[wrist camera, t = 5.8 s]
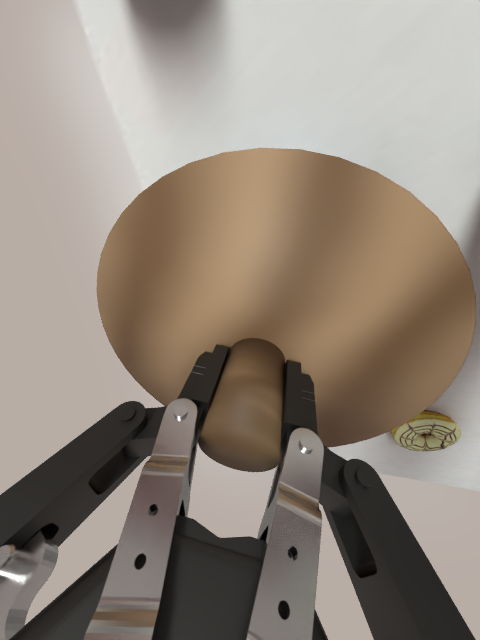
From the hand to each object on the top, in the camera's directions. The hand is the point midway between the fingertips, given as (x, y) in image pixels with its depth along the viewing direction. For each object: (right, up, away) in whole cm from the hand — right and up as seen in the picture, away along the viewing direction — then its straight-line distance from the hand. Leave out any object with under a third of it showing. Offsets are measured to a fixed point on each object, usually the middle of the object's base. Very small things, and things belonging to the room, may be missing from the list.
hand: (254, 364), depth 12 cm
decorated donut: (+36, -18, +33) cm, 52 cm away
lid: (0, +1, +1) cm, 1 cm away
